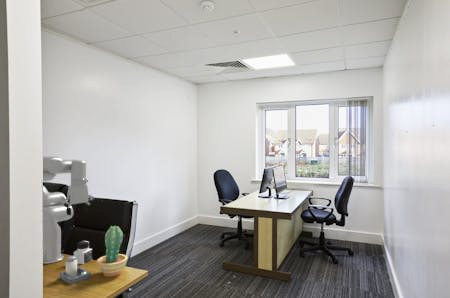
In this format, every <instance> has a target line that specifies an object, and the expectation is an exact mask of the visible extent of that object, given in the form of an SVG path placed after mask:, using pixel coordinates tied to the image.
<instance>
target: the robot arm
mask: <svg viewBox="0 0 450 298" xmlns="http://www.w3.org/2000/svg"><path fill="white" fill-rule="evenodd" d="M42 157H43V181H42V182H49V181H52V180H54V178H56V176H57V175H58V174H62V175H63V174H70V185H69V186H68V188H67V189H68V190H67V195H65V194H64V193H63V192H60V191H54V192H50V191H48V189H47V187H45V185H43V209H42V210H43V265H46V264H47V265H48V264H54V263H58V262H60V261H62V260H64V255H63V254H62V252H61V250H62V230H61V228H62V227H61V226H60V225H59V224H58V222H64V221H68V220H70V219H72V217H73V216H74V209H73V205H77V204H83V203H84V213H89V211H90V205H91V204H92V202H93V200H94V198H95V197H94V196H93V195H90V194H89V188H88V184H87V183H89V180H88V179H87V161H85V160H79V159H78V160H77V159H62V158H61V157H60V156H42Z"/></svg>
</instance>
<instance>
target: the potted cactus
mask: <svg viewBox="0 0 450 298" xmlns="http://www.w3.org/2000/svg"><path fill="white" fill-rule="evenodd" d="M123 237H124V233H123V231H122V230H121V228H120V227H119V226H118V225H117V226H116V225H114V226H112V225H110V227H109V228H108V229H107V231H106V232H105V236H104V243H105V244H104V245H105V247H106V249H105V255H103V256H100V257H99V258H98V259H96V264H97V266H98V267H99V269H100V271H101V272H102V273H103V276H105V277H116V276H118V275H120V274H121V273H122V271H123V269H124V268H125V266H126V263H127V262H128V255H126V254H123V253H122V254H121V253H119V252H120V247H121V245H122V243H123Z"/></svg>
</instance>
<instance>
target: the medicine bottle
mask: <svg viewBox="0 0 450 298" xmlns="http://www.w3.org/2000/svg"><path fill="white" fill-rule="evenodd" d="M76 247H77V249H76V250H75V251H73V256H76V259H77V265H85V264H87V263H90V262H92V261H93V248H90V241H87V240H82V241H81V240H80V241H79V242H77V246H76Z"/></svg>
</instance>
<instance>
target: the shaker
mask: <svg viewBox="0 0 450 298" xmlns="http://www.w3.org/2000/svg"><path fill="white" fill-rule="evenodd" d="M65 259H66V260H65V271H66V276H68V277H70V278H71V279H72V278H75V277H77V268H78V264H77V259H76V256H74V255H71V256H67V257H66V258H65Z"/></svg>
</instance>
